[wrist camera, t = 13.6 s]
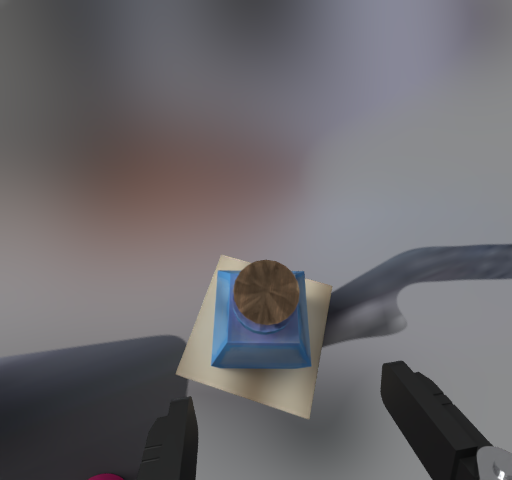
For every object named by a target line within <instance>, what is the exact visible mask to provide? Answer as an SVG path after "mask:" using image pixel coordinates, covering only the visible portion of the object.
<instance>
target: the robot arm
mask: <svg viewBox="0 0 512 480" xmlns="http://www.w3.org/2000/svg"><path fill="white" fill-rule="evenodd" d="M381 397H382V400H383V403H384V405H385V407H386V409H387V410H388V412H389V413H390V415H391V416H392V418H393V420H394V421H395V423H396V424H397V426H398V427H399V429H400V430H401V432H402V433H403V435H404V436H405V438H406V439H407V441H408V443H409V444H410V446H411V447H412V449H413V450H414V452H415V454H416V455H417V456H418V458H419V460H420V461H421V463H422V464H423V466H424V467H425V469H426V471H427V472H428V474H429V475H430V477H431V478H432V479H433V480H512V454H511V453H510V452H508V451H506V450H503V449H500V448H497V447H494V446H493V445H492V444H490V442H489V441H487V439H486V438H485V437H484V436H483V435H482V434H481V433H480V432H479V431H478V430H477V428H476V427H475V426H474V425H473V424H472V423H471V422H470V421H469V420H468V419H467V418H466V417H465V416H464V414H463V413H462V412H461V411H460V410H459V409H458V408H457V407H456V406H455V405H453V404H452V402H451V400H450V399H449V398H448V397H447V396H446V395H444V394H443V392H442V391H441V390H440V389H439V387H438V386H437V385H436V384H435V383H434V382H433V381H432V380H430V379H429V378H427V377H425V376H424V375H423V374H421V373H420V372H416V373H414V372H413V371H412V370H411V369H410V368H409V367H408V366H407V364H405V363H404V362H403V361H396V362H391V363H384V364H383V366H382V379H381ZM197 452H198V425H197V420H196V415H195V410H194V406H193V401H192V397H191V396H190V397H184V398H178V399H173V400H171V403H170V408H169V413H168V416H165V417H159V418H157V420H156V421H155V423H154V425H153V426H152V428H151V429H150V431H149V433H148V437H147V441H146V445H145V451H144V453H143V457H142V464H141V465H140V469H139V473H138V477H137V480H195V477H196V464H197Z"/></svg>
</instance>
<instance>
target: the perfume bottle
mask: <svg viewBox="0 0 512 480" xmlns="http://www.w3.org/2000/svg"><path fill="white" fill-rule="evenodd" d="M211 366H213V367H217V368H249V369H298V368H305V367H311V366H312V365H311V352H310V339H309V326H308V313H307V300H306V287H305V274H304V271H290V270H289V269H288V268H287V267H286V266H284V265H282V264H280V263H278V262H276V261H270V260H261V261H256V262H253V263H251V264H249V265H247V266H246V267H245V268H244V269H243V270H242V271H231V270H218V274H217V288H216V302H215V316H214V330H213V345H212V359H211Z"/></svg>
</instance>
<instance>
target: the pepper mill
mask: <svg viewBox="0 0 512 480" xmlns="http://www.w3.org/2000/svg"><path fill="white" fill-rule="evenodd" d="M88 480H124V479H123V478H121V477H120V476H117V475H114V474H106V473H105V474H99V475H96V476H93V477H91V478H89V479H88Z"/></svg>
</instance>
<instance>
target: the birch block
mask: <svg viewBox="0 0 512 480" xmlns="http://www.w3.org/2000/svg"><path fill="white" fill-rule="evenodd" d="M249 264H251V263H249V262H246V261H242V260H239V259H235V258H231V257H228V256H224V255H221V257H220V260H219V263H218V265H217V267H216V270H215V273H214V275H213V278H212V280H211V283H210V286H209V288H208V291H207V293H206V296H205V299H204V301H203V304H202V307H201V309H200V312H199V314H198V317H197V320H196V322H195V325H194V327H193V330H192V333H191V335H190V338H189V340H188V343H187V346H186V348H185V351H184V353H183V356H182V359H181V361H180V364H179V366H178V369H177V372H176V375H179V376H182V377H185V378H188V379H191V380H194V381H197V382H199V383H203V384H205V385H208V386H211V387H214V388H217V389H220V390H223V391H226V392H229V393H232V394H235V395H238V396H241V397H244V398H247V399H250V400H253V401H256V402H259V403H262V404H265V405H267V406H271V407H274V408H276V409H280V410H282V411H286V412H288V413H291V414H294V415H297V416H300V417H303V418H306V419H309V418H310V412H311V407H312V401H313V395H314V389H315V383H316V378H317V372H318V366H319V360H320V354H321V349H322V343H323V337H324V331H325V325H326V320H327V314H328V308H329V302H330V296H331V291H332V286H330V285H327V284H323V283H320V282H316V281H313V280H309V279H306V278H305V287H306V300H307V313H308V326H309V339H310V352H311V365H312V366H311V367H305V368H298V369H249V368H217V367H213V366H211V359H212V345H213V330H214V316H215V302H216V288H217V274H218V270H231V271H242V270H243V269H244V268H245V267H246V266H247V265H249Z"/></svg>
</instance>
